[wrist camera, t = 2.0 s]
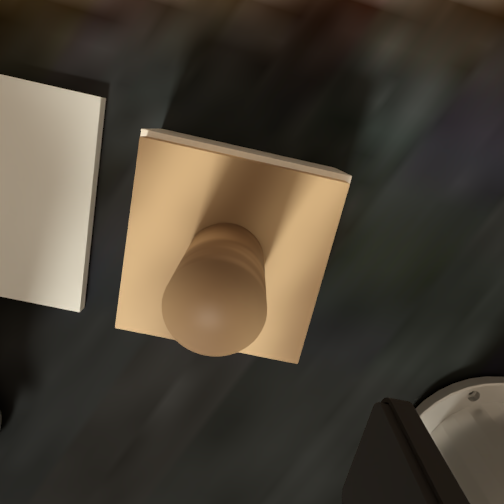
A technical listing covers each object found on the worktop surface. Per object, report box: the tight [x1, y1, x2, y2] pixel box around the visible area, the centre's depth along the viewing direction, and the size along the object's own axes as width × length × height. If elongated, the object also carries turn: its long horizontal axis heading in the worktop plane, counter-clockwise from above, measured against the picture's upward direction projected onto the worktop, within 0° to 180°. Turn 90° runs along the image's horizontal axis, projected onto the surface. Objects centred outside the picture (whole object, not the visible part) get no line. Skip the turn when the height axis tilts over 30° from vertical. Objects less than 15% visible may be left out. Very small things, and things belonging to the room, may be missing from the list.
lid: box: [115, 136, 350, 364], centre depth 19 cm, size 10×10×7 cm
